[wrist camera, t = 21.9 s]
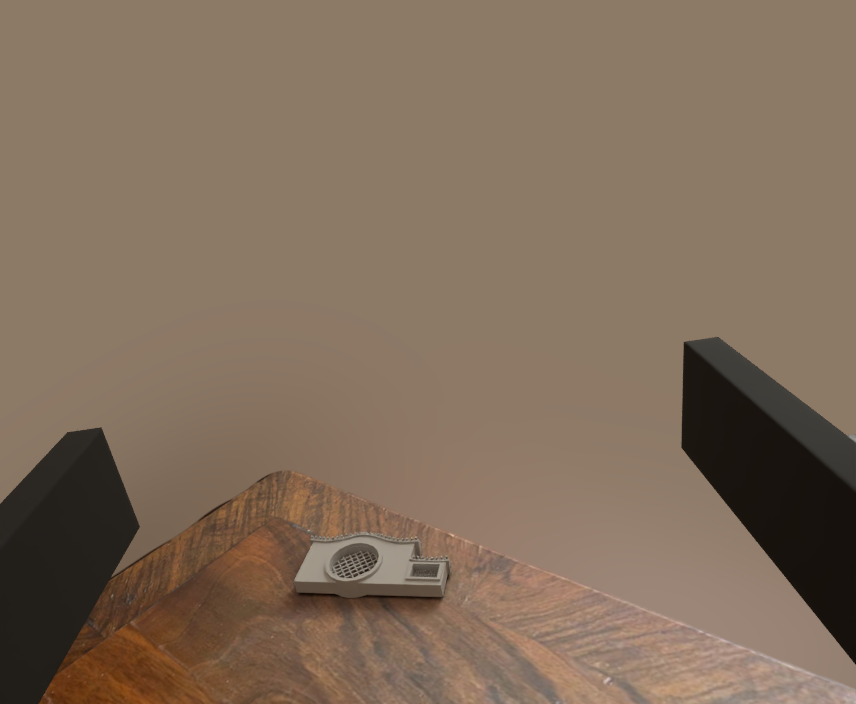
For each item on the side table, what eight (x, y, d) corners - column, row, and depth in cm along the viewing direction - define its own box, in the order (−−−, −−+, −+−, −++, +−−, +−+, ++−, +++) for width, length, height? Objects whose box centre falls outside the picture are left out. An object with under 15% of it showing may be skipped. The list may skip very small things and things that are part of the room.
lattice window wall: (446, 601, 46) (457, 545, 51) (443, 582, 45) (455, 528, 51) (293, 596, 49) (318, 544, 54) (287, 578, 48) (314, 527, 53)
